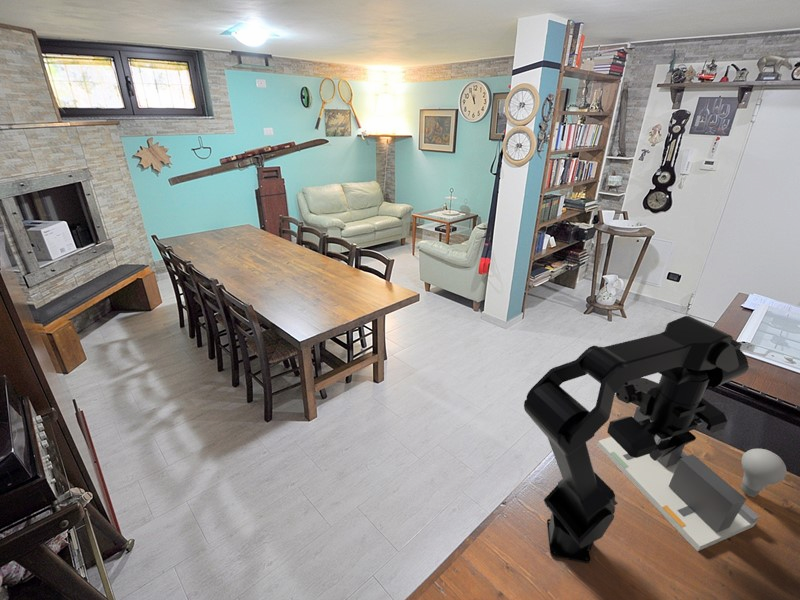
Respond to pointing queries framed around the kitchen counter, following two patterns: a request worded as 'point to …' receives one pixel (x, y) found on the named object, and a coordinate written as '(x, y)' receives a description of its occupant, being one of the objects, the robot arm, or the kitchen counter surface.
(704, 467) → the block
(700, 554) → the kitchen counter surface
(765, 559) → the kitchen counter surface
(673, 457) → the block
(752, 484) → the lightbulb
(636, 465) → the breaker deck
